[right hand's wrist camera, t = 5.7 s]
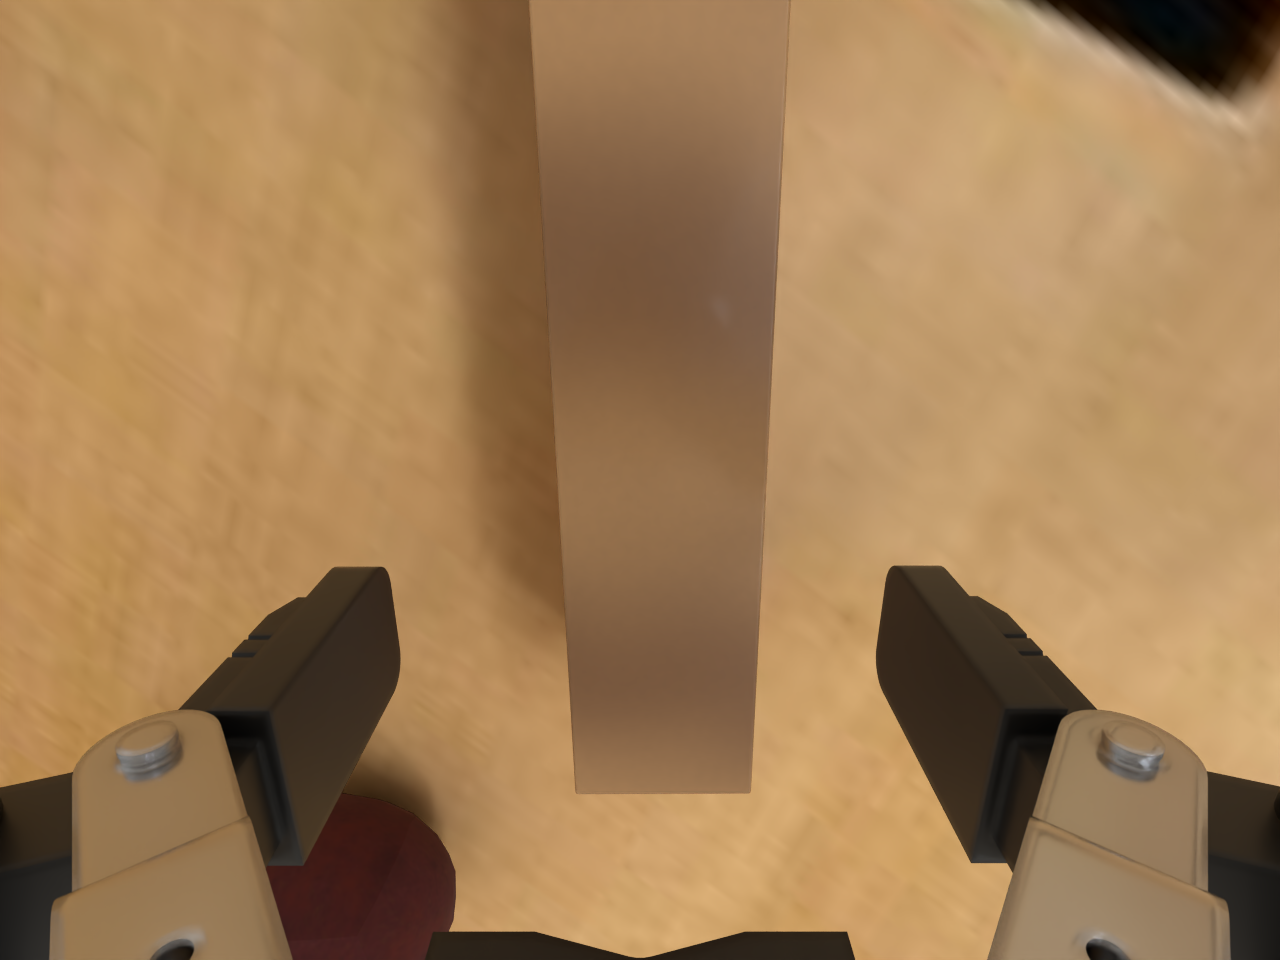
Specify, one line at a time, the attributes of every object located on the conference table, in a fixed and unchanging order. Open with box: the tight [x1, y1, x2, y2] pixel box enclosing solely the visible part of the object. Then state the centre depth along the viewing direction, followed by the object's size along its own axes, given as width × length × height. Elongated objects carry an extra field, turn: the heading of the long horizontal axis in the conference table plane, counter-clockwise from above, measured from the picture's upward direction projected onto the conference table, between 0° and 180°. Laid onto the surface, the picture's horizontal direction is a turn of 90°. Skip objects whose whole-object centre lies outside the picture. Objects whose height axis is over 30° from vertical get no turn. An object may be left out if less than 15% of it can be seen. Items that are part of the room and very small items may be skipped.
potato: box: [266, 793, 456, 960], centre depth 22 cm, size 7×8×7 cm
